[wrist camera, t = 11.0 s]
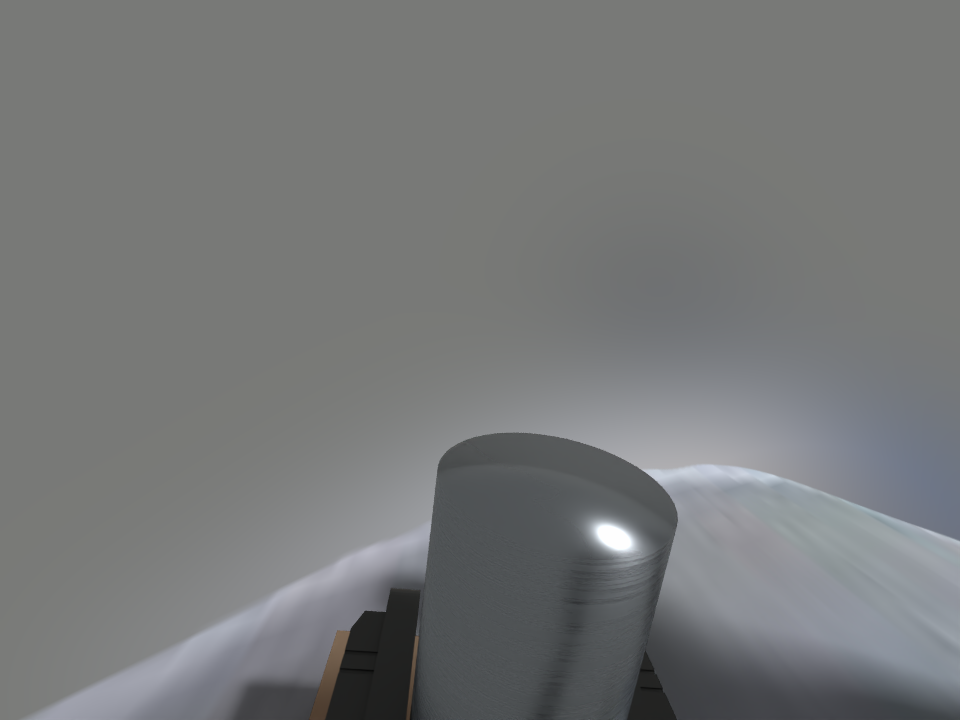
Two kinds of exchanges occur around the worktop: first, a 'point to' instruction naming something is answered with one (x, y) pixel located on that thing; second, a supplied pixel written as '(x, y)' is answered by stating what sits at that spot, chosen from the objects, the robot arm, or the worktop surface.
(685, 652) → the worktop surface
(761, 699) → the worktop surface
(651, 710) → the robot arm
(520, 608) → the long pin
